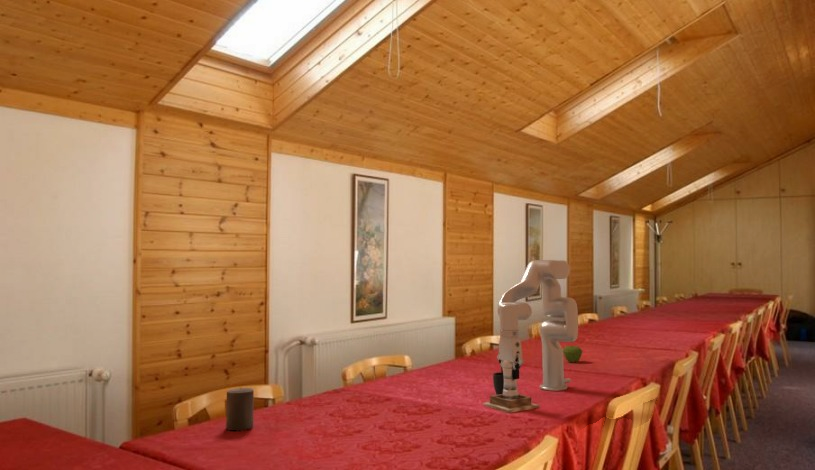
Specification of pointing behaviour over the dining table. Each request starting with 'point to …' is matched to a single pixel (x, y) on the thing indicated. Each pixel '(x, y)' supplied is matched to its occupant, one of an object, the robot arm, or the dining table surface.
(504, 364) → the plastic bottle
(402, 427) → the dining table surface
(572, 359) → the apple
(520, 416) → the dining table surface
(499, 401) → the bottle stand
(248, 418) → the dark grey cylinder
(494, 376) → the mug
